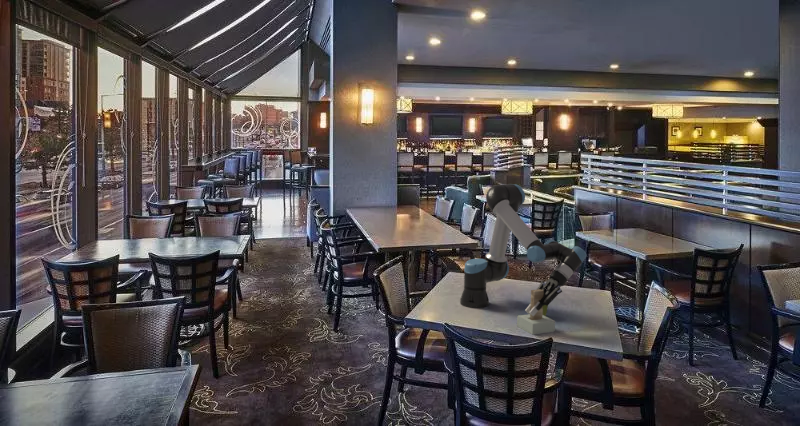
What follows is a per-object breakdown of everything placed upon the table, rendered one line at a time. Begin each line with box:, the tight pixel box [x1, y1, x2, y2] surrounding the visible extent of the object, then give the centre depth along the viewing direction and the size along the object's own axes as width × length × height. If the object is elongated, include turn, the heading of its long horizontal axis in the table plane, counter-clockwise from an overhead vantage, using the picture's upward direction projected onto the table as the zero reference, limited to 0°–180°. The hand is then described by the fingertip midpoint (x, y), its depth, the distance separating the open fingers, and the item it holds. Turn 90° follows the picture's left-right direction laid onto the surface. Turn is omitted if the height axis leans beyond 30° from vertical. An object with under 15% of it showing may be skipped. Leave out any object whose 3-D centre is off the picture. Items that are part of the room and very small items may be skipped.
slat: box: [530, 289, 544, 320], centre depth 244 cm, size 2×5×16 cm, turn 112°
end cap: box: [516, 313, 556, 335], centre depth 245 cm, size 12×12×5 cm
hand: (529, 313), depth 243 cm, fingers closed on slat, 2 cm apart
